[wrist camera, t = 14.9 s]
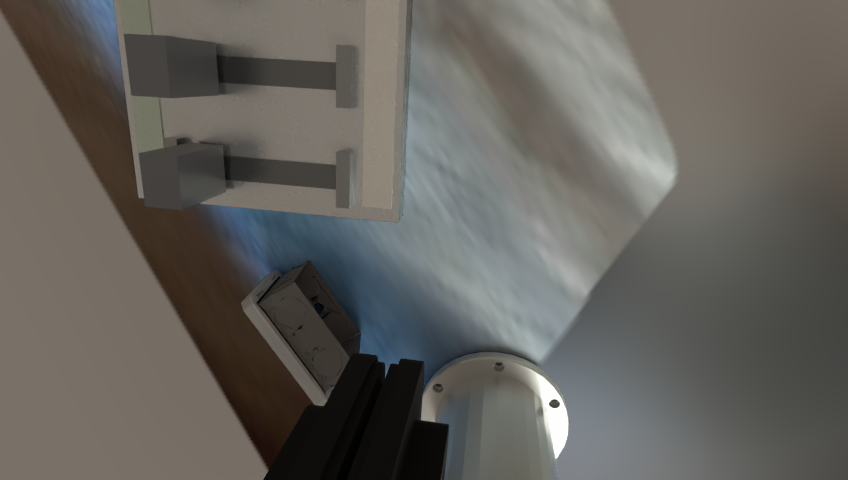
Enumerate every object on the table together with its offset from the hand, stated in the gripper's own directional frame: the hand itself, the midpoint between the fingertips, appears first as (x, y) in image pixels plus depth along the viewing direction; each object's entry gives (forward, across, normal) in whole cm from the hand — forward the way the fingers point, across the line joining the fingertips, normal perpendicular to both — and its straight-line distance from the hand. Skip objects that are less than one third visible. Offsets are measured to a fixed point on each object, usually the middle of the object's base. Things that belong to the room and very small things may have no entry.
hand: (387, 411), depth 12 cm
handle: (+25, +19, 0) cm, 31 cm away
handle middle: (+25, +19, -7) cm, 32 cm away
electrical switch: (+27, +11, +11) cm, 32 cm away
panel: (+27, +15, -7) cm, 32 cm away
